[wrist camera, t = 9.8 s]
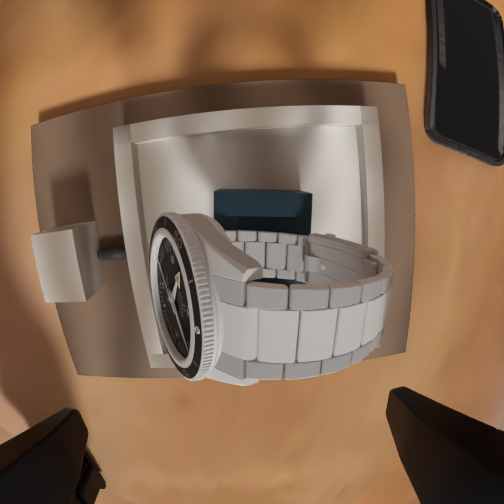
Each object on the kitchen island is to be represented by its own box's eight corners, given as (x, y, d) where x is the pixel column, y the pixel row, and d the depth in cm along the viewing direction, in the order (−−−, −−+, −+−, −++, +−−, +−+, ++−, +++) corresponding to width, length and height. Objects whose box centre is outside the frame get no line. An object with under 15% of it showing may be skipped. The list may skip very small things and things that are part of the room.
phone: (500, 11, 15) (505, 169, 18) (493, 14, 16) (496, 169, 19) (427, -32, 14) (426, 137, 17) (421, -26, 15) (418, 138, 19)
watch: (182, 188, 17) (89, 211, 6) (332, 191, 17) (451, 219, 6) (185, 289, 18) (122, 420, 8) (325, 290, 18) (407, 415, 8)
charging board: (83, 368, 21) (61, 397, 18) (38, 127, 17) (4, 121, 13) (399, 345, 22) (423, 373, 18) (398, 88, 17) (428, 72, 14)
